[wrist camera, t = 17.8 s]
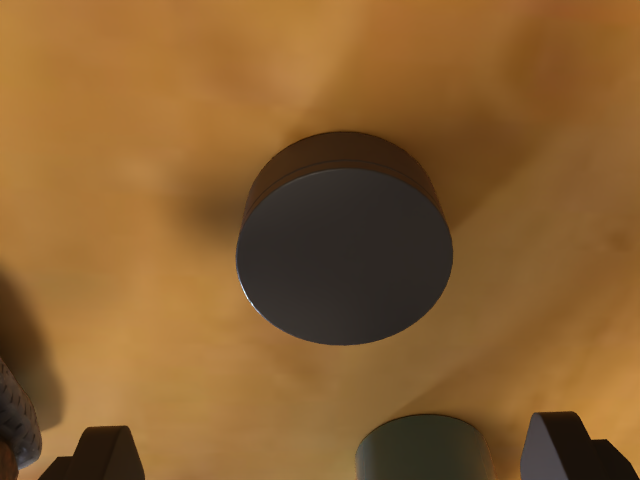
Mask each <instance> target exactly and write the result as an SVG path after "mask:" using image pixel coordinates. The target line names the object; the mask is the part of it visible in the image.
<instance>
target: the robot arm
mask: <svg viewBox="0 0 640 480" xmlns="http://www.w3.org/2000/svg"><path fill="white" fill-rule="evenodd" d="M520 472H521V480H640V479H639V478H638V476H637V474H636V472H635V470H634V468H633V467H632V465H631V463H630V462H629V461H628V460H627V459H626V458H625V457H624V456H623V455H622V454H621V453H620V452H619V451H618V450H617V449H616V448H615V447H614V446H613V445H612V444H611V443H610V442H609V441H608V440H607V439H601V440H591V439H590V437H589V435H588V433H587V431H586V429H585V427H584V425H583V423H582V421H581V419H580V417H579V416H578V415H577V414H576V413H575V412H572V411H567V412H538V413H534V414H533V415H532V417H531V420H530V424H529V428H528V432H527V436H526V440H525V444H524V448H523V452H522V456H521V462H520ZM38 480H145V475H144V470H143V467H142V464H141V461H140V458H139V455H138V452H137V449H136V446H135V443H134V440H133V437H132V434H131V431H130V429H129V427H128V426H100V427H88V428H86V429H85V431H84V432H83V434H82V436H81V438H80V440H79V443H78V445H77V447H76V450H75V452H74V455H73V456H67V457H57V458H56V460H55V461H54V462H53V463H52V464H51V465H50V466H49V467H48V469H47V470H46V471H45V472H44V473H43V474H42V475H41V477H40V478H39V479H38Z"/></svg>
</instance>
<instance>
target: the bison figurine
mask: <svg viewBox="0 0 640 480" xmlns="http://www.w3.org/2000/svg"><path fill="white" fill-rule="evenodd" d="M41 450H42V438H41V433H40V430H39V427H38V423H37V417H36V414H35V411H34V407H33V405H32V403H31V401H30V399H29V397H28V396H27V395H26V393H25V392H24V391H23V389H22V388H21V386H20V385H19V384H18V382H17V381H16V379H15V378H14V376H13V375H12V373H11V372H10V370H9V368H8V367H7V366H6V364H5V363H4V362H3V360H2V359H1V357H0V480H17V477H18V474H19V471H18V470H20V469H22V468H25V467H27V466H29V465H30V464H32V463H33V462H35V461H36V460H38V458H39V457H40V454H41Z"/></svg>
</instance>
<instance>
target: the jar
mask: <svg viewBox="0 0 640 480" xmlns="http://www.w3.org/2000/svg"><path fill="white" fill-rule="evenodd" d="M355 473H356V480H498V478H497V475H496V471H495V468H494V464H493V461H492V458H491V454H490V451H489V447H488V444H487V442H486V440H485V438H484V437H483V435H482V434H481V433H480V432H479V431H478V430H477V429H475V428H474V427H473V426H471V425H469V424H468V423H466V422H463V421H461V420H458V419H455V418H452V417H447V416H441V415H415V416H409V417H404V418H400V419H397V420H394V421H391V422H388V423H386V424H384V425H382V426H380V427H378V428H377V429H375V430H374V431H372V432H371V433H370V434H369V435H368V436H367V437H366V438H365V439H364V440H363V441H362V442H361V444H360V445H359V447H358V450H357V452H356V456H355Z"/></svg>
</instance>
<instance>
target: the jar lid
mask: <svg viewBox="0 0 640 480" xmlns="http://www.w3.org/2000/svg"><path fill="white" fill-rule="evenodd" d="M452 264H453V246H452V239H451V235H450V232H449V228H448V225H447V223H446V220H445V217H444V214H443V212H442V209H441V206H440V204H439V201H438V198H437V195H436V193H435V190H434V187H433V185H432V183H431V181H430V179H429V177H428V175H427V174H426V172H425V171H424V170H423V168H422V167H421V166H420V165H419V164H418V162H417V161H416V160H415V159H414V158H413V157H411V156H410V155H409V154H408V153H406V152H405V151H404V150H402V149H401V148H399V147H397V146H396V145H394V144H392V143H390V142H388V141H385V140H383V139H381V138H377V137H374V136H370V135H366V134H360V133H350V132H337V133H326V134H322V135H317V136H313V137H310V138H307V139H304V140H301V141H299V142H297V143H295V144H293V145H291V146H289V147H287V148H286V149H284V150H283V151H281V152H280V153H279V154H277V155H276V156H275V157H274V158H273V159H272V160H270V161H269V162H268V163H267V164H266V166H265V167H264V168H263V169H262V170H261V172H260V173H259V175H258V176H257V178H256V179H255V181H254V183H253V185H252V187H251V189H250V192H249V195H248V199H247V202H246V206H245V211H244V215H243V220H242V224H241V229H240V233H239V237H238V242H237V248H236V269H237V274H238V278H239V281H240V284H241V286H242V289H243V291H244V293H245V295H246V296H247V298H248V300H249V301H250V303H251V304H252V305H253V307H254V308H255V309H256V310H257V311H258V312H259V313H260V314H261V315H262V316H263V317H264V318H265V319H266V320H267V321H269V322H270V323H271V324H273V325H274V326H275V327H277V328H279V329H280V330H282V331H284V332H286V333H288V334H290V335H292V336H295V337H297V338H300V339H303V340H306V341H310V342H315V343H319V344H327V345H344V346H345V345H358V344H364V343H370V342H374V341H378V340H381V339H384V338H387V337H389V336H392V335H395V334H397V333H399V332H400V331H402V330H404V329H406V328H408V327H409V326H411V325H412V324H414V323H415V322H417V321H418V320H419V319H420V318H422V317H423V316H424V315H425V314H426V313H427V312H428V311H429V310H430V309H431V308H432V307H433V306H434V304H435V303H436V302H437V300H438V299H439V298H440V296H441V294H442V292H443V291H444V289H445V287H446V285H447V282H448V279H449V277H450V273H451V269H452Z"/></svg>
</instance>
